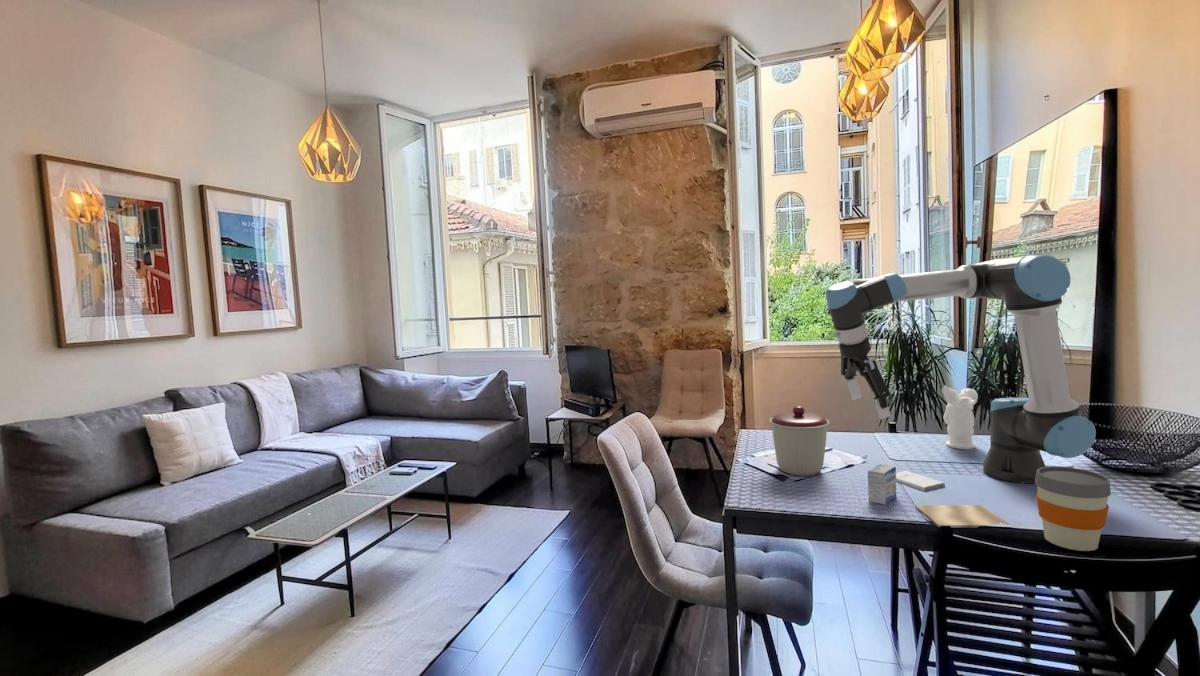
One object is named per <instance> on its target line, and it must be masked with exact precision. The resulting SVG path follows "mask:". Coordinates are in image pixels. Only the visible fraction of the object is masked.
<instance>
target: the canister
mask: <svg viewBox="0 0 1200 676" xmlns="http://www.w3.org/2000/svg"><path fill="white" fill-rule="evenodd" d="M805 411H806V410H805V409H804V407H803V406H801V405H796V406H794V407H793V408H792V411H791V412H790V411H788V412H781V413H778V414H775V415H774V416H772V417H770V418H769V419H768V422H769V424H770V425H771V429H772V431H771V432H772V437H773V438H772V439H773V445H774V450H775V458H776V462H777V465H778V468H779V469H780V470H781V471H782V472H784V473H786V474H788V475H791V476H792V475H793V476H800V477H801V476H802V477H805V476H813V475H814V476H815V475H817V474H818V473H820V472H821V471H822V469H823V466H824V461H825V455H826V444H827V443H826V442H827V434H828V426H829V425H830V420H829V419H827V418H826V417H824V416H823V415H820V414H817V413H812V412H805Z"/></svg>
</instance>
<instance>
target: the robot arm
mask: <svg viewBox="0 0 1200 676" xmlns="http://www.w3.org/2000/svg"><path fill="white" fill-rule="evenodd" d="M1070 285H1071V275H1070V271H1069V269H1068V267H1067V266H1066V264H1065V263H1064V262H1063V261H1062V260H1060V259H1058V258H1057V257H1055V256H1052V255H1048V254H1045V255H1044V254H1043V255H1042V254H1029V255H1020V256H1011V257H1010V256H1009V257H1001V258H1000V257H999V258H995V259H991V260H986V261H981V262H977V263H976V262H975V263H972V264H965V265H964V264H963V265H960V266H958V267H957V268H956V269H949V270H948V269H947V270H946V269H945V270H940V271H939V270H938V271H937V270H936V271H927V272H926V271H925V272H915V273H905V274H898V273H896V272H890V273H887V274H882V275H881V276H877V277H876V276H875V277H865V278H856V279H855V278H850V279H848V280H844V281H842V282H838V283H835V284H832V285H830V286H829V287H828V288H827V289H826V291H825V296H826V297H825V299H826V302H827V303H826V304H827V305H826V306H827V308H828V310H829V315H830V317H831V321H832V324H833V328H834V332H835V333H834V336H835V338H836V339H837V342H838V347H839V348H838V349H839V351H840V374H841V375H842V376H844V378H845V380H846V382H847V385H848V391H849V394H850V397H851V401H854V402H855V401H857V400H860V399H862V398H863V395H862V392H861V391H862V390H861V387H860V384H859V380H858V377H857V376H858V374H859V375H860V376H861V377H863V378H864V380H865V381H866V383H867V385H868V386H869V387H870V389H871V391H872V392H873V394H874V397H873V400H874V402H875V403H874V404H875V407H876V411H877V413H878V418H879V420H884V419H886V418H889V417H891V412H890V408H889V405H888V400H887V398H888V397H890V396H891V392H890V391H889V388H888V386H887V383H886V382H885V380H884V377H883V376H882V374H881V372H880V370H879V368H878V363H877V361H876V360H875V359H872V360H870V358H869V357H868V354H869V353H870V351H871V349H872V346H871V343H870V338H869V336H868V334H869V333H868V329H867V326H866V322H865V318H864V314H867V313H870V312H872V311H874V310H877V309H880V308H882V307H885V306H889V305H891V304H895V303H896V302H905V301H906V302H907V301H915V300H928V299H938V298H950V297H959V298H961V299H964V300H965V299H966V300H967V299H990V300H991V299H992V300H999V301H1001V300H1003V301H1004V303H1005V309H1006V311H1007V312H1008V313H1010V314H1012V315H1013V317H1014V321H1015V327H1016V333H1017V338H1018V343H1019V344H1018V345H1019V349H1020V355H1021V361H1022V366H1023V372H1024V378H1025V383H1026V384H1025V385H1026V390H1027V397H999V398H994V399H993V400H992V401H991V402H990V410H989V414H990V416H989V421H990V444H989V445H990V446H989V450H988V451H987V454H986V456H985V458H984V461H983V465H982V468H983V469H982V471H983V473H984V474H985V475H986V476H989V475H990V476H989V477H991V476H992V478H994V477H995V478H994V479H997V478H999V479H998V480H1001V479H1003V480H1002V481H1006V480H1008V481H1007V482H1011V481H1014V482H1013V483H1019V482H1024V483H1023V484H1035V478H1036V472H1037V469H1039V468H1042V467H1047V466H1046V464H1045V462H1044V459H1043V456H1042V453H1041V451H1042V452H1045V453H1047V454H1049V455H1050V456H1055V457H1060V458H1065V459H1073V458H1077V457H1081V456H1082V455H1083V454H1085V453H1086V452H1088V451H1089V449H1090V448H1091V447H1092V446H1093V444H1094V442H1095V440H1096V435H1097V432H1096V431H1097V430H1096V427H1095V425H1094V423H1093V422H1092V421H1091V420H1090V419H1088V418H1087V417H1086V416H1082V413H1081V407H1080V404H1079V402H1078V401H1076V400H1075V399H1073V398H1071V395H1070V388H1069V383H1068V375H1067V370H1066V364H1065V358H1064V352H1063V347H1062V341H1061V334H1060V329H1059V323H1058V316H1057V309H1059V307H1060V306H1061V305H1062V304H1063V300H1062V297H1064V295H1065V294H1066V293H1067V292H1068V290H1067V289H1068V288H1070ZM857 372H858V374H857Z"/></svg>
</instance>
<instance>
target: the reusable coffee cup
mask: <svg viewBox="0 0 1200 676" xmlns="http://www.w3.org/2000/svg"><path fill="white" fill-rule="evenodd" d="M1110 483H1111V482H1110V479H1109V478H1108V477H1107V476H1104V475H1103V474H1101V473H1098V472H1094V471H1090V470H1088V469H1087V470H1086V469H1083V468H1082V469H1081V468H1077V467H1076V468H1075V467H1069V466H1067V467H1066V466H1046V467H1042V468H1039V469H1037V472H1036V478H1035V483H1034V484H1035V485H1036V487H1037V493H1036V503H1037V509H1038V510H1037V511H1038V515H1039V517H1040V518H1041V520H1042V530H1043V535H1044V539H1045V540H1046V541H1047V542H1050V543H1051V544H1053V545H1055V546H1058V547H1059V548H1060V547H1061V548H1065V549H1068V550H1073V551H1080V552H1091V551H1096V550H1097V549H1099V543H1100V539H1101V534H1102V529H1104V528H1106V527H1105V526H1106V523H1107V517H1108V514H1109V513H1108V512H1109V508H1110V506H1109V504H1108V500H1109V497H1110V496H1111V495H1112V494H1111V493H1112V492H1111V484H1110Z"/></svg>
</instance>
